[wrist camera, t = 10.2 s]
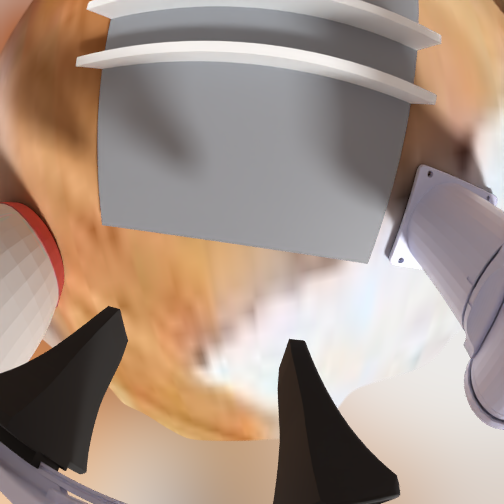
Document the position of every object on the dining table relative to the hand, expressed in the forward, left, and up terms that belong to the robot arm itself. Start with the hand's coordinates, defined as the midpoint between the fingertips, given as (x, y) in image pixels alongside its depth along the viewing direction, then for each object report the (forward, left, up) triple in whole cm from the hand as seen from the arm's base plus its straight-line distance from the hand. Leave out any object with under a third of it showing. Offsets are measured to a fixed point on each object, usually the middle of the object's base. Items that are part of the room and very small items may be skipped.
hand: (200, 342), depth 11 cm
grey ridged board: (0, -13, -10) cm, 16 cm away
